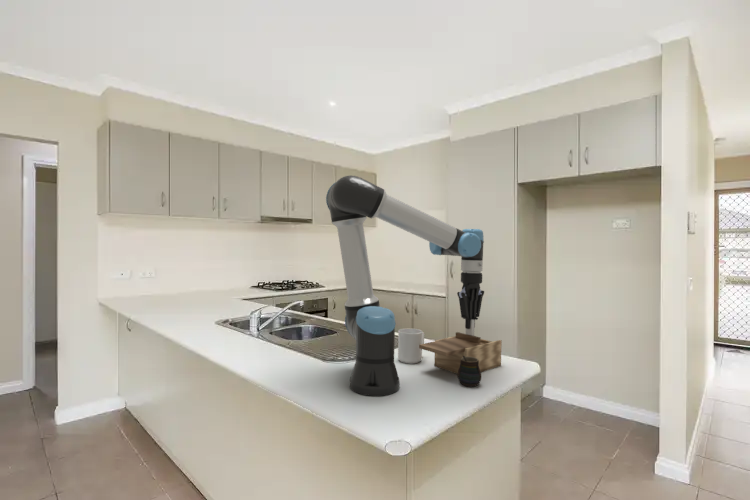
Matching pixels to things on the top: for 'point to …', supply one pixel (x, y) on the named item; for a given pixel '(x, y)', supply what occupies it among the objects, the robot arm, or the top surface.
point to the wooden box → (484, 353)
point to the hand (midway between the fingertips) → (469, 337)
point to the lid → (452, 344)
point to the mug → (410, 345)
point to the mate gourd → (469, 371)
